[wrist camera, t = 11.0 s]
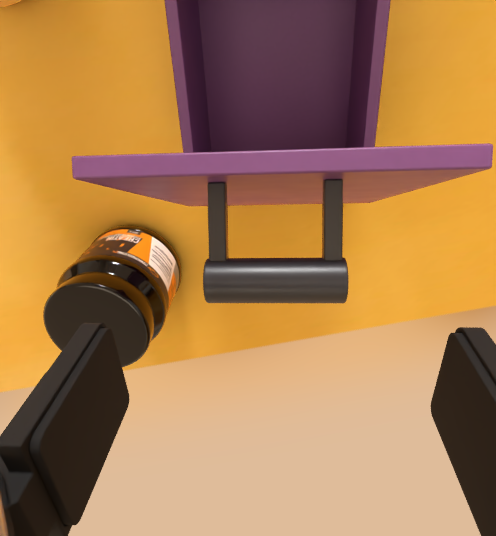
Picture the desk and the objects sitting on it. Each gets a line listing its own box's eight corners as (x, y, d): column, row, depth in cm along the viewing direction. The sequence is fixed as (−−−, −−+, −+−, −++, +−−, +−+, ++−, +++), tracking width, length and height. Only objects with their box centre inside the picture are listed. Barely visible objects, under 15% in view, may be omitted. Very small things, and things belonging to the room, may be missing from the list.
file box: (186, -41, 31) (155, -69, 23) (369, -54, 30) (400, -88, 22) (206, 169, 39) (189, 199, 32) (351, 165, 38) (369, 195, 30)
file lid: (70, 155, 14) (79, 313, 14) (494, 142, 13) (485, 315, 13) (187, 196, 31) (189, 266, 32) (370, 192, 30) (369, 265, 31)
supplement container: (190, 233, 43) (160, 294, 32) (177, 310, 48) (149, 384, 38) (93, 211, 42) (32, 266, 32) (91, 291, 48) (39, 361, 37)
